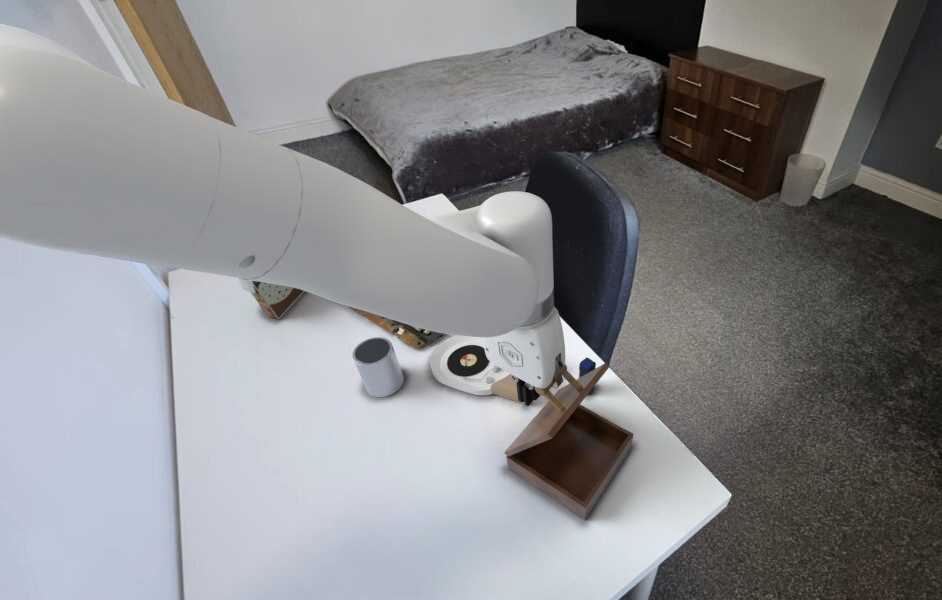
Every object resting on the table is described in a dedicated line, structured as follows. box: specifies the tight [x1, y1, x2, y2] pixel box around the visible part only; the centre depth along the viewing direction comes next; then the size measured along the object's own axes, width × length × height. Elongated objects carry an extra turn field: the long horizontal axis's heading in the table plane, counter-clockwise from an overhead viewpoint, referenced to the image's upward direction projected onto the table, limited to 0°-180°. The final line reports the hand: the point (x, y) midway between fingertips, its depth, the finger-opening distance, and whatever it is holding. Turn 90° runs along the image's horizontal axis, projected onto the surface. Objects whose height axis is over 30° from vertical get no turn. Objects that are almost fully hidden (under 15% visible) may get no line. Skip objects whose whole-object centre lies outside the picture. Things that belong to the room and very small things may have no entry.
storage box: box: [505, 404, 634, 521], centre depth 68 cm, size 13×13×4 cm
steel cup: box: [351, 336, 405, 398], centre depth 77 cm, size 6×6×8 cm
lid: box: [503, 362, 610, 456], centre depth 64 cm, size 14×13×5 cm
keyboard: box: [349, 307, 444, 350], centre depth 97 cm, size 45×15×2 cm, turn 54°
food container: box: [237, 278, 306, 321], centre depth 91 cm, size 12×6×10 cm, turn 172°
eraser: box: [578, 357, 597, 396], centre depth 77 cm, size 2×2×7 cm
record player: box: [429, 335, 525, 405], centre depth 81 cm, size 12×3×20 cm
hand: (529, 396), depth 66 cm, fingers closed
